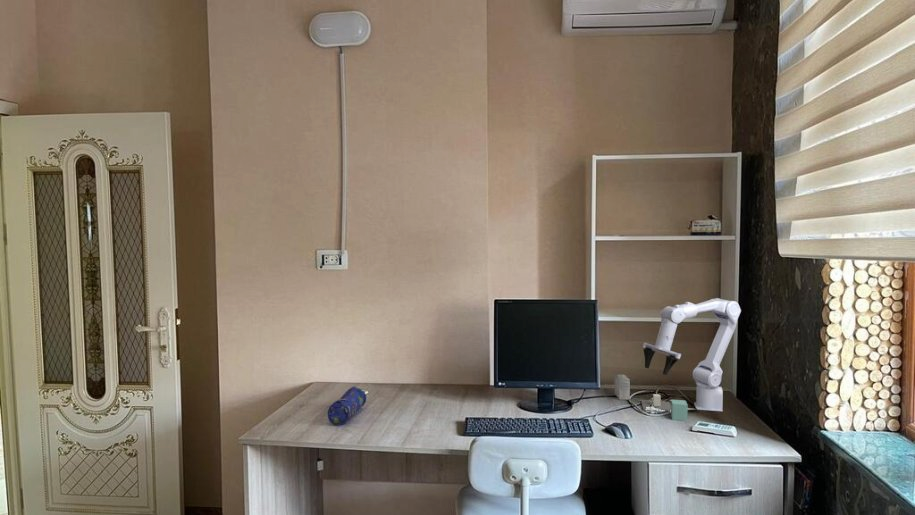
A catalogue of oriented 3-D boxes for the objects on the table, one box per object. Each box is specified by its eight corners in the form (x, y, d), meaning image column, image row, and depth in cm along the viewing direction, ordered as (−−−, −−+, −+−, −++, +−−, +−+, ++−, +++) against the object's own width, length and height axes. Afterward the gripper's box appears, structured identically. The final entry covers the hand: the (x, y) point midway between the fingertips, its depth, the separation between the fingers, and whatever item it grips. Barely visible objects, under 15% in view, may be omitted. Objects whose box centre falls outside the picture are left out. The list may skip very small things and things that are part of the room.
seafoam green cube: (685, 416, 214) (685, 400, 214) (687, 421, 209) (687, 405, 209) (670, 415, 216) (671, 399, 215) (672, 419, 211) (672, 403, 210)
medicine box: (629, 400, 234) (630, 379, 233) (619, 400, 234) (619, 379, 233) (624, 394, 242) (625, 374, 241) (614, 394, 242) (614, 374, 241)
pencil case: (348, 428, 204) (347, 402, 204) (325, 426, 206) (325, 401, 205) (367, 407, 226) (367, 384, 225) (347, 406, 227) (346, 383, 227)
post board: (669, 403, 229) (669, 392, 228) (672, 412, 218) (673, 400, 218) (641, 401, 231) (641, 390, 231) (643, 410, 221) (643, 398, 220)
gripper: (643, 330, 218) (633, 364, 218) (678, 341, 208) (668, 376, 207) (651, 333, 223) (642, 365, 223) (686, 343, 212) (676, 378, 212)
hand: (655, 371), depth 215 cm, fingers open, 7 cm apart
